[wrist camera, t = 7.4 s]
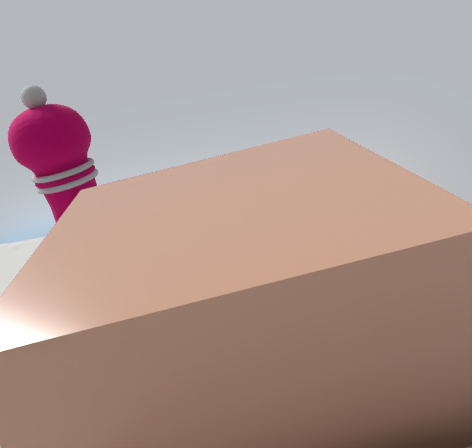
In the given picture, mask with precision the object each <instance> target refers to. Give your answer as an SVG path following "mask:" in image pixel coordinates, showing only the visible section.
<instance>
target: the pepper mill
mask: <svg viewBox="0 0 472 448" xmlns="http://www.w3.org/2000/svg"><path fill="white" fill-rule="evenodd" d="M21 100H22V102H23V103H24V105H26V106H27V107H28V108H30V109H28V110H26V111H24V112H22V113H21V114H20V115H18V116H17V117H16V118H15V119H14V121H13V122H12V123H11V125H10V127H9V131H8V142H9V146H10V149H11V152H12V154H13V156H14V158H15V159H16V160H17V161H18V162H19V163H20V164H21V165H23V166H25V167H27V168H28V169H30V170H31V171H33V172H34V174H35V175H33V176H32V178H31V180H32V182H34V183H35V186H36V187H37V188H36V191H37V192H38V193H40V194H44V196H45V197H46V199H47V201H48V203H49V205H50V207H51V209H52V212H53V215H54V218H55V221H56V222H57V221H58V220H59V218H60V217H61V216H62V215H63V213H64V212H65V211H66V209H67V208H68V207H69V205H70V204H71V203H72V201H73V200H74V199H75V197H76V196H77V195H78V193H79V192H80V191H81V190H83V189H87V188H91V187H95V186H97V184H96V181H95V177H96V176H97V174H98V170H97V169H95V166H94V165H93V164H94V160H93V159H91V158H87V152H88V148H89V146H90V142H91V135H90V132H89V128H88V126H87V124H86V122H85V121H84V119H83V118H82V117H81V116H80V115H79V114H78V113H77V112H76V111H74V110H73V109H71V108H69V107H67V106H63V105H57V104H47V105H45V103H46V100H47V99H46V94H45V92H44V91H43V90H42V89H41V88H40V87H38V86H35V85H29V86H26V87H25V88H24V89H23V90H22V92H21Z"/></svg>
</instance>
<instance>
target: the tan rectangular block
mask: <svg viewBox="0 0 472 448" xmlns="http://www.w3.org/2000/svg"><path fill="white" fill-rule="evenodd" d="M0 446H1V447H2V448H467V447H471V446H472V204H470V203H469V202H467V201H464V200H463V199H461V198H459V197H457V196H455V195H453V194H452V193H450V192H448V191H446V190H444V189H442V188H440V187H438V186H436V185H435V184H432V183H431V182H429V181H427V180H425V179H423V178H421V177H419V176H418V175H416V174H414V173H412V172H410V171H408V170H406V169H404V168H402V167H401V166H399V165H397V164H395V163H393V162H391V161H389V160H387V159H385V158H384V157H382V156H380V155H378V154H376V153H374V152H372V151H370V150H368V149H367V148H365V147H363V146H361V145H359V144H357V143H355V142H353V141H351V140H350V139H347V138H345V137H344V136H342V135H340V134H338V133H336V132H334V131H333V130H331V129H325V130H321V131H317V132H313V133H309V134H305V135H301V136H298V137H293V138H289V139H285V140H281V141H278V142H273V143H269V144H265V145H261V146H257V147H253V148H249V149H245V150H241V151H237V152H233V153H228V154H224V155H220V156H216V157H212V158H208V159H204V160H200V161H196V162H192V163H188V164H184V165H180V166H176V167H172V168H168V169H164V170H160V171H156V172H152V173H148V174H143V175H139V176H136V177H131V178H127V179H124V180H119V181H115V182H111V183H108V184H103V185H99V186H95V187H91V188H87V189H83V190H81V191H80V192H79V193H78V195H77V196H76V197H75V199H74V200H73V201H72V203H71V204H70V205H69V207H68V208H67V209H66V211H65V212H64V213H63V215H62V216H61V217H60V218H59V220H58V221H57V222H56V224H55V225H54V227H53V228H52V229H51V231H50V232H49V233H48V235H47V236H46V237H45V238H44V240H43V241H42V242H41V244H40V245H39V246H38V248H37V249H36V250H35V252H34V253H33V254H32V256H31V257H30V258H29V259H28V261H27V262H26V263H25V265H24V266H23V267H22V269H21V270H20V271H19V273H18V274H17V275H16V277H15V278H14V279H13V281H12V282H11V283H10V285H9V286H8V287H7V289H6V290H5V291H4V293H3V294H2V295H1V297H0Z"/></svg>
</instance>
